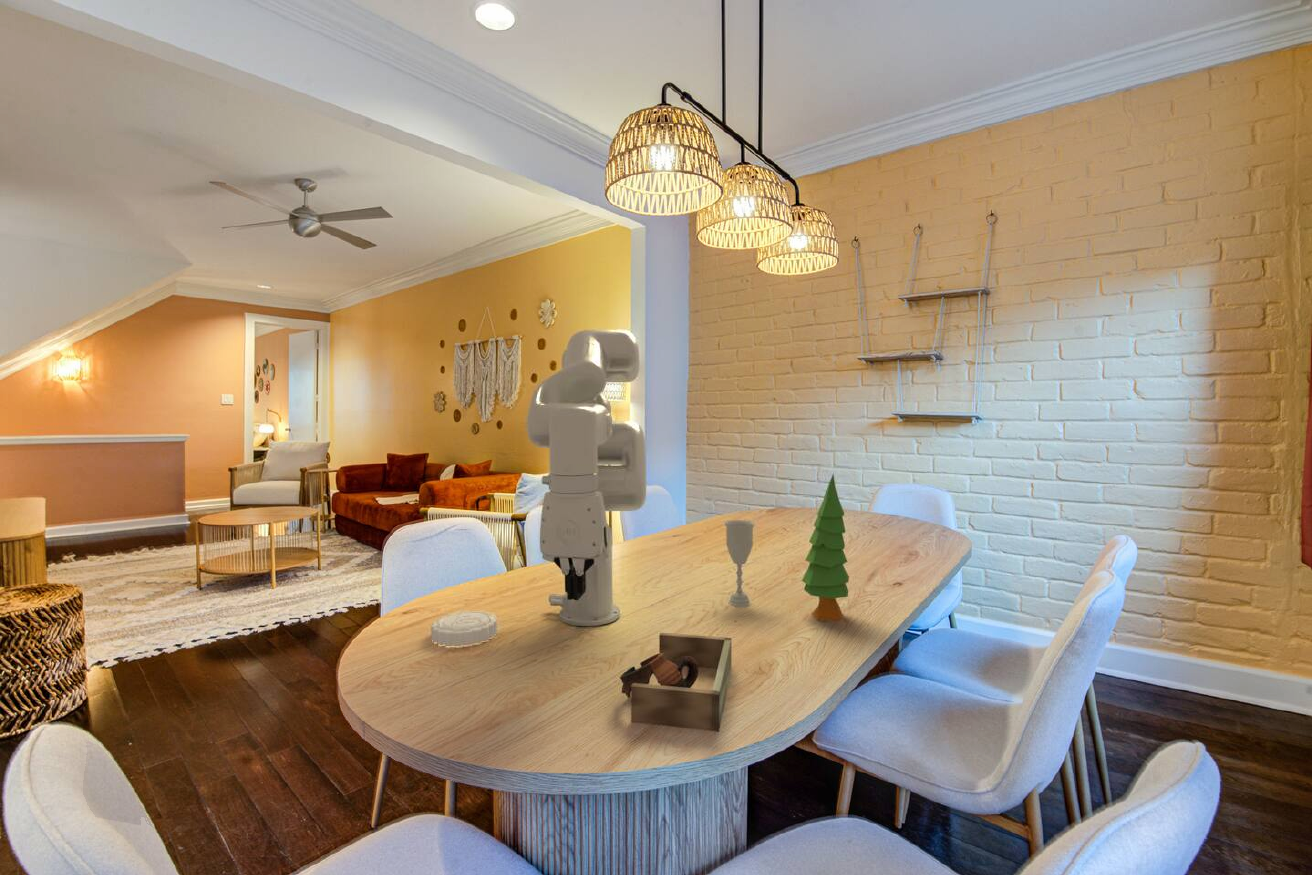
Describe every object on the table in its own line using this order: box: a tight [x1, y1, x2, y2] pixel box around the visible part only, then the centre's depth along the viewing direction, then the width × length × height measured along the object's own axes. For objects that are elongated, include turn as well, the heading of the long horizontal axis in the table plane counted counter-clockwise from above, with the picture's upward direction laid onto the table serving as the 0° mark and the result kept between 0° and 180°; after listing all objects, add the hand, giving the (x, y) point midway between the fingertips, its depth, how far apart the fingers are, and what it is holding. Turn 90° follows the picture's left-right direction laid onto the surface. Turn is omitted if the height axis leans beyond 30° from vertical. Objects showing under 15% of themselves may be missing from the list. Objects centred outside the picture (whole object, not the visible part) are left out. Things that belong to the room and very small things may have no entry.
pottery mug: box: [619, 653, 699, 699], centre depth 85 cm, size 12×10×8 cm
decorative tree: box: [801, 473, 850, 622], centre depth 121 cm, size 10×9×30 cm
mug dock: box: [630, 632, 732, 732], centre depth 88 cm, size 12×20×5 cm, turn 168°
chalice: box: [723, 519, 756, 608], centre depth 130 cm, size 7×7×18 cm
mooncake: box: [430, 609, 498, 646], centre depth 111 cm, size 12×12×4 cm
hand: (575, 596), depth 93 cm, fingers closed
